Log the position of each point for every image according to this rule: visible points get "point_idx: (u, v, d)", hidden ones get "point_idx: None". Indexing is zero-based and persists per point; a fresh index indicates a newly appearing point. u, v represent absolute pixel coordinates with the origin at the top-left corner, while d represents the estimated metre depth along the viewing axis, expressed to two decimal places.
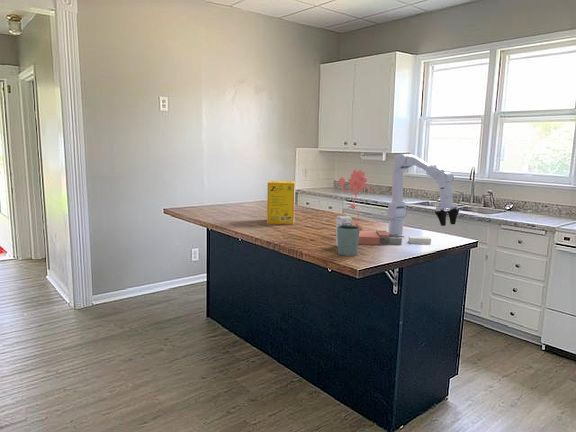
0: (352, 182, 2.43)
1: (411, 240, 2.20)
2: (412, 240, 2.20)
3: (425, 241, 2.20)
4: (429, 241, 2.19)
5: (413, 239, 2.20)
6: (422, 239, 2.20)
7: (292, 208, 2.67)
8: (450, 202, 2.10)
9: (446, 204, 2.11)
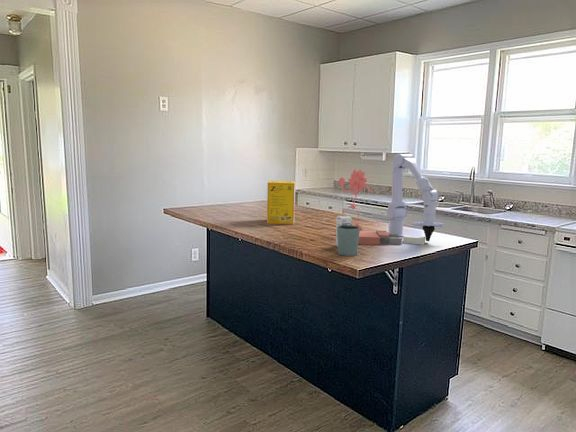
0: (352, 182, 2.43)
1: (404, 239, 2.21)
2: (405, 239, 2.21)
3: (418, 241, 2.19)
4: (422, 241, 2.18)
5: (406, 238, 2.21)
6: (415, 238, 2.19)
7: (292, 208, 2.67)
8: (428, 220, 2.18)
9: (424, 221, 2.19)
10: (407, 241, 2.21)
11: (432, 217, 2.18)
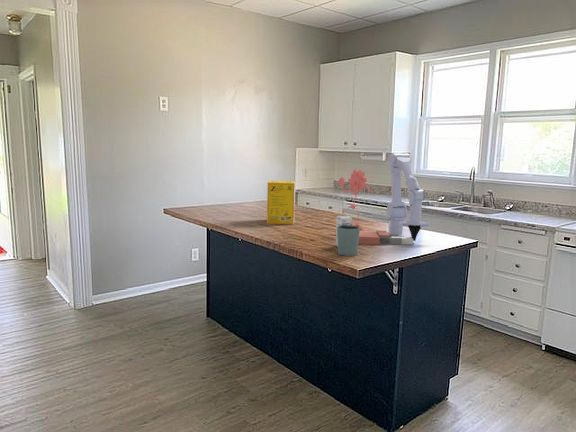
0: (352, 182, 2.43)
1: None
2: None
3: (407, 241, 2.18)
4: (411, 241, 2.18)
5: None
6: (404, 239, 2.18)
7: (292, 208, 2.67)
8: (414, 220, 2.18)
9: (410, 221, 2.20)
10: None
11: (418, 217, 2.18)
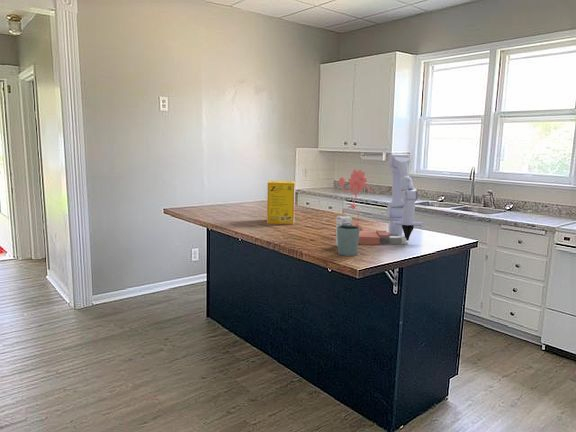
0: (352, 182, 2.43)
1: None
2: None
3: None
4: (405, 240, 2.19)
5: None
6: None
7: (292, 208, 2.67)
8: (407, 219, 2.19)
9: (403, 220, 2.20)
10: None
11: (411, 216, 2.18)
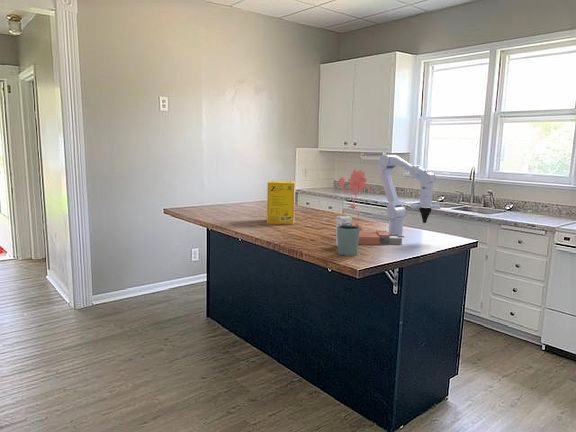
0: (352, 182, 2.43)
1: None
2: None
3: None
4: None
5: None
6: None
7: (292, 208, 2.67)
8: (425, 202, 2.22)
9: (421, 203, 2.23)
10: None
11: (429, 199, 2.21)
